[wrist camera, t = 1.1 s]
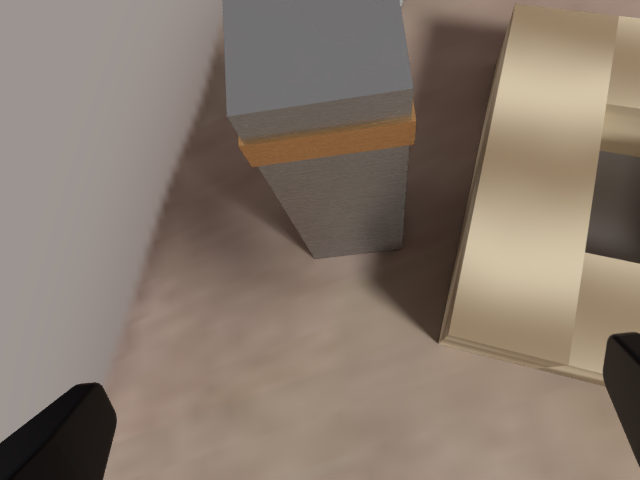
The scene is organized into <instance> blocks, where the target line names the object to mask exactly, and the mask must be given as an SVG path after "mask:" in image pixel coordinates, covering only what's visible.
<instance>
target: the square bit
mask: <svg viewBox="0 0 640 480" xmlns="http://www.w3.org/2000/svg"><path fill="white" fill-rule="evenodd" d="M223 27H224V55H225V83H226V111H227V118H228V119H229V121H230V123H231V124H232V126H233V128H234V129H235V131H236V132H237V134H238V145H239V148H240V149H241V151H242V153H243V154H244V156H245V157H246V159H247V160H248V162H249V163H250V165H251V166H252V167H257V166H258V168H259V170H260V171H261V173H262V174H263V176H264V178H265V179H266V181H267V183H268V184H269V186H270V187H271V189H272V191H273V192H274V194H275V196H276V197H277V199H278V200H279V202H280V204H281V205H282V207H283V208H284V210H285V212H286V213H287V215H288V217H289V218H290V220H291V221H292V223H293V225H294V226H295V228H296V229H297V231H298V233H299V234H300V236H301V238H302V239H303V241H304V242H305V244H306V246H307V247H308V249H309V250H310V252H311V254H312V255H313V257H314V259H319V258H328V257H337V256H345V255H354V254H362V253H371V252H379V251H388V250H397V249H402V239H403V225H404V211H405V198H406V184H407V171H408V157H409V145H414V141H415V130H416V115H415V109H414V103H413V89H414V88H413V82H412V76H411V69H410V63H409V57H408V50H407V44H406V38H405V31H404V25H403V19H402V12H401V6H400V0H223Z"/></svg>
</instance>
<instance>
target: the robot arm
mask: <svg viewBox="0 0 640 480" xmlns="http://www.w3.org/2000/svg"><path fill="white" fill-rule="evenodd" d="M603 380H604V383H605V386H606V388H607V391H608V393H609V396H610V398H611V400H612V403H613V405H614V408H615V410H616V412H617V415H618V417H619V420H620V422H621V424H622V427H623V429H624V432H625V434H626V436H627V439H628V441H629V444H630V446H631V448H632V451H633V453H634V455H635V458H636V460H637V462H638V464H639V467H640V333H637V332H626V333H616V334H612V335H610V336H609V338H608V340H607V344H606V351H605V357H604V364H603ZM116 423H117V418H116V413H115V410H114V408H113V406H112V404H111V402H110V400H109V398H108V396H107V394H106V392H105V390H104V388H103V387H102V385H100V384H99V383H96V382H94V383H84V384H78V385H75V386H74V387H72V388H71V389H70V390H69V391H67V392H66V393H64V394H63V395H62V396H61V397H59V398H58V399H57V400H55V401H54V402H53V403H52V404H50V405H49V406H48V407H46V408H45V409H44V410H42V411H41V412H40V413H39V414H38V415H36V416H35V417H34V418H32V419H31V420H30V421H28V422H27V423H26V424H24V425H23V426H22V427H21V428H19V429H18V430H17V431H15V432H14V433H13V434H11V435H10V436H9V437H8V438H6V439H5V440H4V441H2V442H1V443H0V480H103V477H104V473H105V469H106V465H107V461H108V457H109V453H110V449H111V445H112V441H113V437H114V433H115V429H116Z"/></svg>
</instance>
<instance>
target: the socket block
mask: <svg viewBox="0 0 640 480" xmlns="http://www.w3.org/2000/svg"><path fill="white" fill-rule="evenodd" d="M626 332H637V333H640V18H632V17H623V16H615V15H606V14H598V13H589V12H581V11H572V10H563V9H555V8H546V7H538V6H529V5H521V4H515V7H514V10H513V13H512V16H511V19H510V22H509V25H508V28H507V31H506V35H505V38H504V41H503V44H502V47H501V50H500V53H499V56H498V59H497V62H496V67H495V72H494V77H493V81H492V86H491V91H490V96H489V101H488V106H487V110H486V115H485V120H484V125H483V130H482V135H481V139H480V144H479V149H478V154H477V159H476V164H475V168H474V173H473V178H472V183H471V188H470V193H469V197H468V202H467V207H466V212H465V217H464V222H463V226H462V231H461V236H460V241H459V246H458V251H457V255H456V260H455V265H454V270H453V275H452V280H451V284H450V289H449V294H448V299H447V304H446V309H445V313H444V318H443V323H442V328H441V333H440V338H439V343H438V344H441V345H445V346H449V347H453V348H457V349H461V350H465V351H469V352H473V353H477V354H481V355H484V356H488V357H492V358H496V359H500V360H504V361H508V362H512V363H516V364H520V365H524V366H528V367H532V368H535V369H539V370H543V371H547V372H551V373H555V374H559V375H563V376H567V377H571V378H575V379H579V380H583V381H587V382H590V383H594V384H598V385H602V386H605V383H604V380H603V364H604V357H605V351H606V344H607V340H608V338H609V336H610V335H612V334H616V333H626Z"/></svg>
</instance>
